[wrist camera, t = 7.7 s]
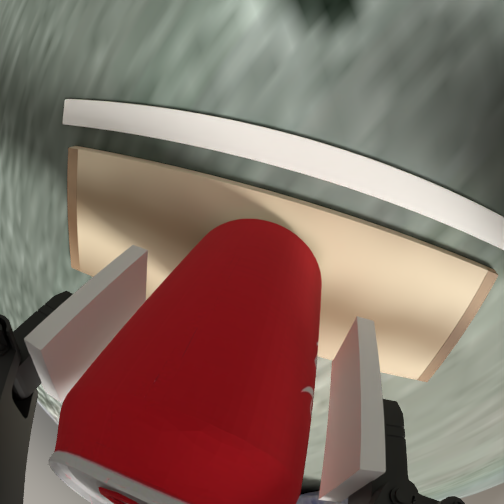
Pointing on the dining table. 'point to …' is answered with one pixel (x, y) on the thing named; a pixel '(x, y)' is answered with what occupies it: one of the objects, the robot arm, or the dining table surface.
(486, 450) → the dining table surface
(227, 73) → the dining table surface
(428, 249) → the board
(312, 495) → the mineral
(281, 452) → the beverage can
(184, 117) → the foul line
